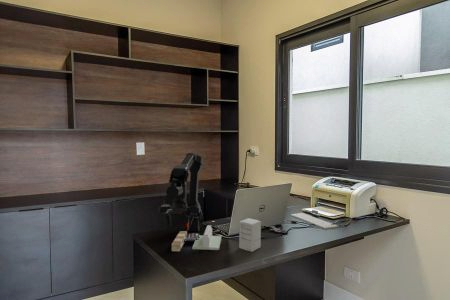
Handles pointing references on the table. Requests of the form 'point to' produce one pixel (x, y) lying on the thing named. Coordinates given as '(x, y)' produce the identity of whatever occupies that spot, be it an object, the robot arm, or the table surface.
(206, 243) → the ridge stand
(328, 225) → the grey flat block
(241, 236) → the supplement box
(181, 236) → the maple bar
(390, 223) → the table surface
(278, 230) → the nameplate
